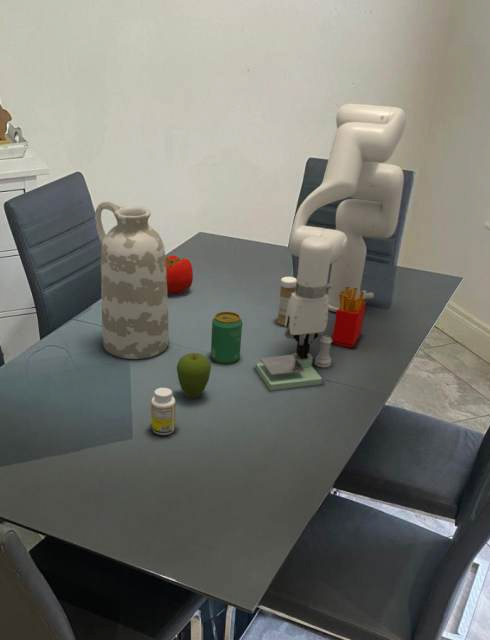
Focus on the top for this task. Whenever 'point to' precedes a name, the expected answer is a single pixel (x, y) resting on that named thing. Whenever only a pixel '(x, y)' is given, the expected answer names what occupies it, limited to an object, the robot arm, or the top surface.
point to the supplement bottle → (163, 411)
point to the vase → (133, 284)
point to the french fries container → (348, 318)
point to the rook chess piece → (324, 353)
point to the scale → (291, 376)
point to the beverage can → (226, 337)
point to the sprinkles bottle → (285, 297)
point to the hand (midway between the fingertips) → (302, 356)
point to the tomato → (178, 274)
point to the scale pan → (282, 365)
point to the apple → (193, 373)
